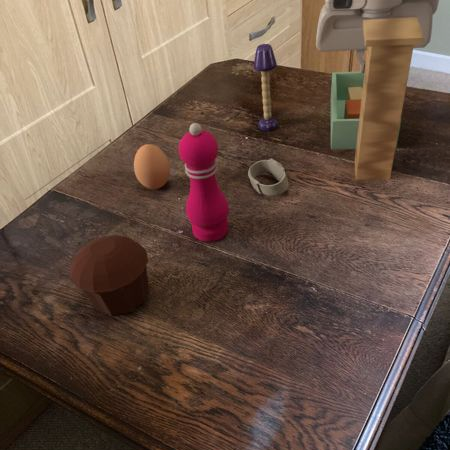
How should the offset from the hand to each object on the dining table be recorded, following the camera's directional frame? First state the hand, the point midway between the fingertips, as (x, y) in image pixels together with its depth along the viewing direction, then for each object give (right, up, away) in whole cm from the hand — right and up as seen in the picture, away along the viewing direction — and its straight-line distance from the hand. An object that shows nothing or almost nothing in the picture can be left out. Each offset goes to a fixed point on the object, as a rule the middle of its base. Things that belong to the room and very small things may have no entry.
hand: (367, 72), depth 95 cm
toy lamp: (-18, -5, +14) cm, 24 cm away
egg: (-41, -22, +3) cm, 46 cm away
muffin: (-44, -43, -17) cm, 64 cm away
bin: (+2, -6, +11) cm, 13 cm away
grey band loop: (-19, -22, -1) cm, 30 cm away
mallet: (+1, -4, +12) cm, 13 cm away
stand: (0, -21, -2) cm, 21 cm away
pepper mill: (-30, -32, -8) cm, 44 cm away
